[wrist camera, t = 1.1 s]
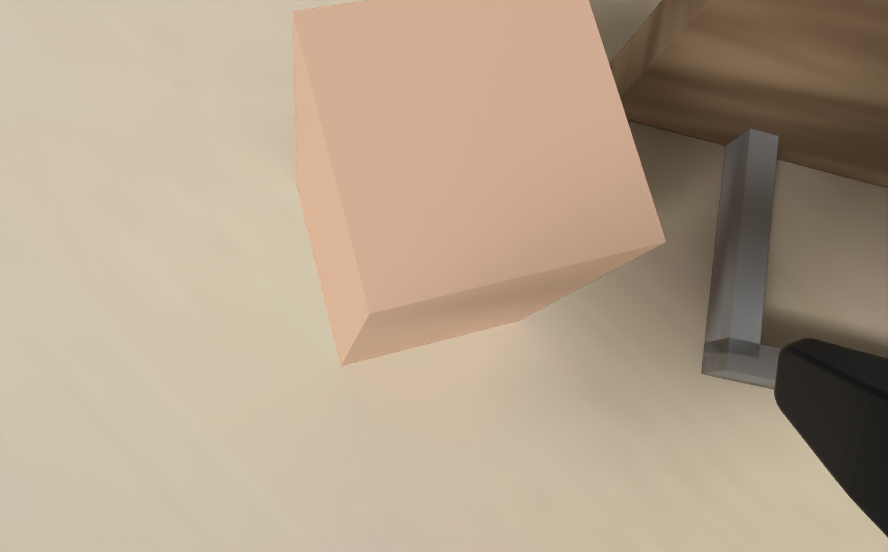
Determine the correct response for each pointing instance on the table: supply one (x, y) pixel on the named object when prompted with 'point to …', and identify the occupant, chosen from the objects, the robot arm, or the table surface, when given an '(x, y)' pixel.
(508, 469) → the table surface
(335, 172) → the pinkish tan block
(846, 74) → the cleat board
